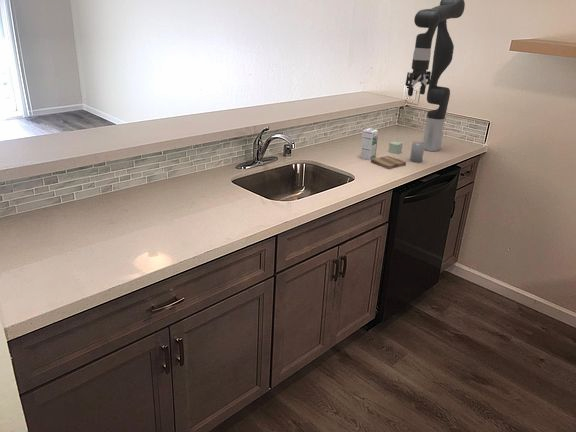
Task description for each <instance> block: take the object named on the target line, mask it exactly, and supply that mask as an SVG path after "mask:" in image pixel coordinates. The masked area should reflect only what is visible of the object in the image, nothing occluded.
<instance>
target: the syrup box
mask: <svg viewBox="0 0 576 432" xmlns="http://www.w3.org/2000/svg"><path fill="white" fill-rule="evenodd" d="M378 134H379V130H378V129H376V128H370V127H368V128H367V129H363V130H362V136H361V148H360V158H361V159H364V160H368V161H371V159H375V158H377V157H376V155H377V145H378Z"/></svg>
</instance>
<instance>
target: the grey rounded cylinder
mask: <svg viewBox="0 0 576 432" xmlns="http://www.w3.org/2000/svg"><path fill="white" fill-rule="evenodd" d="M424 146H425V144H424V143H423V141H422V142H421V141H413V142H412V143H411V150H410V157H409V162H412V163H416V164H419V163H420V164H421V163H422V162H423V158H424V151H425V150H424Z"/></svg>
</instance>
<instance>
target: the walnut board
mask: <svg viewBox="0 0 576 432" xmlns="http://www.w3.org/2000/svg"><path fill="white" fill-rule="evenodd" d="M370 163H371V164H374V165H377V166H380V167H382V168H385V169H387V170H392V169H395V168H399V167H405V166H406V165H407V162H406V161H404V160H402V159H400V158H399V159H398V158H395V157H393V156H390V155H385V156H380V157H375V158H373V159H371V160H370Z"/></svg>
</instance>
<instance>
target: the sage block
mask: <svg viewBox="0 0 576 432" xmlns="http://www.w3.org/2000/svg"><path fill="white" fill-rule="evenodd" d="M402 148H403V143H402V142H401V141H400V142H398V141H395V140H394V141H391V142H389V144H388V153H390V154H395V155H399V154H401V153H402V150H403V149H402Z"/></svg>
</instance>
